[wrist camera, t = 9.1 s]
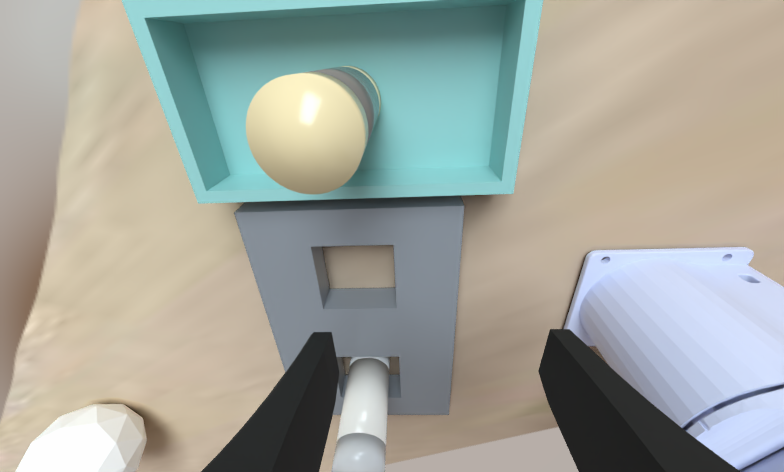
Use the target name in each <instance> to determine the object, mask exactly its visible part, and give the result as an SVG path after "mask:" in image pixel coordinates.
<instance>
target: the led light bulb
mask: <svg viewBox="0 0 784 472" xmlns="http://www.w3.org/2000/svg"><path fill="white" fill-rule="evenodd" d="M380 110H381V94H380V90H379V88H378V86H377V84H376V82H375V80H374V79H373V78H372V77H371V76H370V75H369V74H368V73H367V72H366V71H364V70H362V69H360V68H358V67H355V66H340V67H334V68H328V69H322V70H315V71H309V72H303V73H297V74H290V75H285V76H281V77H278V78H275V79H273V80H271V81H270V82H268V83H267V84H265V85H264V86H263V87H262V88H261V89H260V90H259V91H258V92H257V93H256V95H255V96H254V97H253V99H252V101H251V103H250V106H249V108H248V111H247V117H246V135H247V140H248V144H249V147H250V150H251V152H252V154H253V157H254V158H255V160H256V162H257V163H258V165H259V166H260V167H261V169H262V170H263V171H264V172H265V173H266V174H267V175H268V176H269V177H270V178H271V179H272V180H274V181H275V182H276V183H278V184H279V185H281V186H283V187H285V188H287V189H289V190H292V191H294V192H298V193H302V194H323V193H328V192H330V191H333V190H335V189H337V188H339V187H341V186H342V185H344V184H345V183H346V182H347V181H348V180H349V179H350V178H351V177H352V176H353V174H354V173H355V171H356V170H357V168H358V166H359V163H360V161H361V158H362V156H363V153H364V151H365V148H366V146H367V143H368V141H369V138H370V136H371V133H372V131H373V128H374V126H375V123H376V121H377V118H378V116H379V113H380Z"/></svg>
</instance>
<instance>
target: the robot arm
mask: <svg viewBox="0 0 784 472" xmlns="http://www.w3.org/2000/svg"><path fill="white" fill-rule="evenodd" d="M753 255H754V252H753V251H752V250H750V249H748V248H747V247H722V248H678V249H633V250H595V251H592V252H590V253H589V254H587V256H586V258H585V261H584V265H583V268H582V271H581V274H580V278H579V281H578V284H577V287H576V291H575V294H574V297H573V300H572V303H571V307H570V310H569V313H568V316H567V320H566V323H565V326H564V329H550V332H549V335H548V339H547V342H546V346H545V350H544V353H543V357H542V360H541V364H540V368H539V374H540V378H541V381H542V384H543V388H544V391H545V394H546V397H547V400H548V403H549V405H550V408H551V410H552V412H553V415H554V417H555V419H556V421H557V424H558V426H559V428H560V430H561V433H562V435H563V437H564V439H565V442H566V444H567V446H568V448H569V451H570V453H571V455H572V457H573V460H574V462H575V464H576V466H577V469H578V471H579V472H784V287H783V286H781V285H780V284H778V283H776V282H775V281H773V280H771V279H770V278H768V277H766V276H765V275H763V274H761V273H760V272H758V271H756V270H755V269H753V268H752V267H750V266H748V264H749V262H750V261H751V259H752V258H753ZM604 257H606V258H605V259H604V260H602V258H604ZM588 346H596V347H597V349H598V350H599V352H600V353H601V355H602V356H603V357H604V359H605V360H606V362H607V363H608V364H606V363H605V362H604V361H603V360H602V359H601V358H600V357H599V356H598V355H597V354H596V353H595V352H593V351H592V350H591V349H590V348H589V347H588ZM338 379H339V367H338V362H337V357H336V352H335V347H334V342H333V336H332V332H313V333H312V334H311V336H310V337H309V339H308V340H307V342H306V343H305V345H304V346H303V348H302V349H301V351H300V352H299V354H298V355H297V357H296V358H295V360H294V361H293V363H292V364H291V365H290V367H289V368H288V370H287V371H286V372H285V374H284V375H283V377H282V378H281V379H280V381H279V382H278V383H277V385H276V386H275V387H274V389H273V390H272V391H271V393H270V394H269V395H268V397H267V398H266V399H265V400H264V402H263V403H262V404H261V405H260V407H259V408H258V409H257V410H256V412H255V413H254V414H253V415H252V417H251V418H250V419H249V420H248V421H247V422H246V424H245V425H244V426H243V427H242V428H241V429H240V431H239V432H238V433H237V434H236V435H235V436H234V437H233V439H232V440H231V441H230V442H229V443H228V444H227V445H226V446H225V447H224V448H223V450H222V451H221V452H220V453H219V454H218V455H217V456H216V457H215V458H214V459H213V460H212V461H211V462H210V463H209V464H208V465H207V466H206V467H205V468H204V469H203V470H202V471H201V472H319V469H320V465H321V461H322V457H323V453H324V448H325V444H326V440H327V436H328V432H329V428H330V424H331V419H332V415H333V411H334V407H335V402H336V395H337V387H338Z"/></svg>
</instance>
